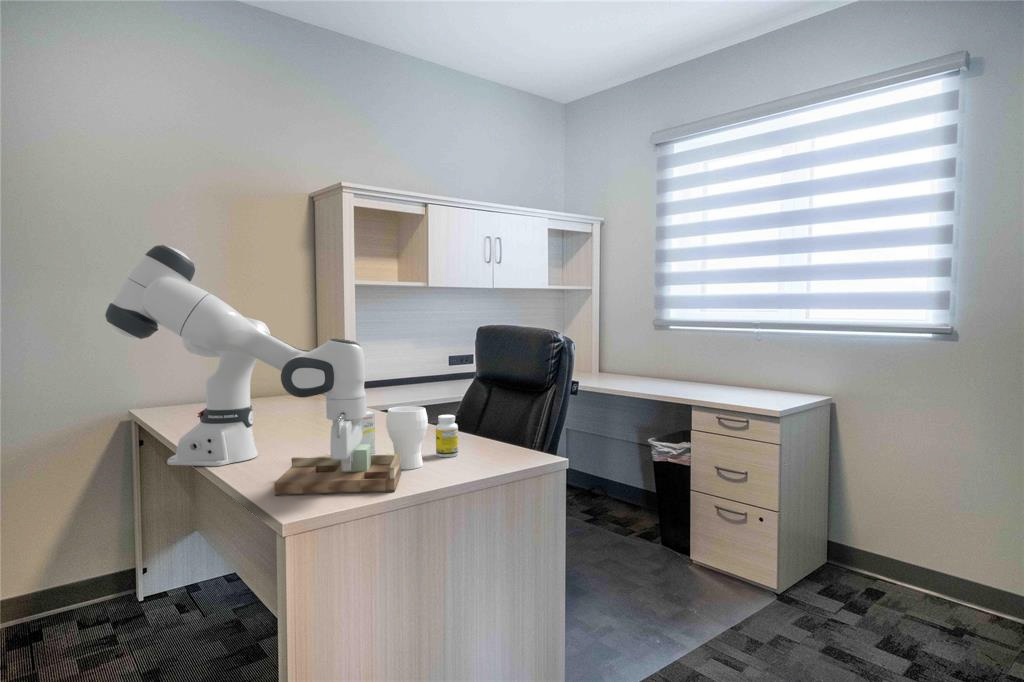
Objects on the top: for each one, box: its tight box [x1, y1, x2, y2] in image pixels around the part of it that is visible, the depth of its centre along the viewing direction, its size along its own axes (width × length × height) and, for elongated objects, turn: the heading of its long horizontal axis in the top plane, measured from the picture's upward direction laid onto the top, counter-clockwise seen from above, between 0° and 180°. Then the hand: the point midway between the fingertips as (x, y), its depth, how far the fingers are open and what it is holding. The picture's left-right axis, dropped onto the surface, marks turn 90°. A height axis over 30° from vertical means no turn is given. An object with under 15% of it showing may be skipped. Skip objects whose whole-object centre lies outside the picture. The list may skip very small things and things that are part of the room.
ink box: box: [358, 410, 377, 455], centre depth 173 cm, size 9×5×12 cm, turn 131°
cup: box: [385, 405, 429, 470], centre depth 160 cm, size 11×11×15 cm
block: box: [341, 444, 372, 472], centre depth 147 cm, size 6×6×5 cm
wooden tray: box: [273, 453, 402, 497], centre depth 143 cm, size 26×15×6 cm, turn 95°
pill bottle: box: [435, 414, 459, 458], centre depth 172 cm, size 6×6×11 cm
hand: (347, 469), depth 141 cm, fingers closed
